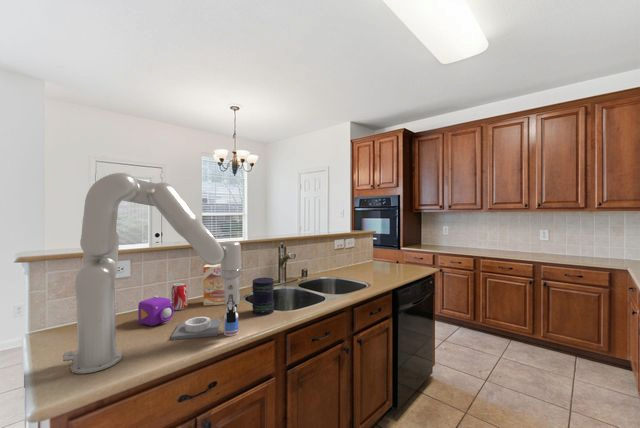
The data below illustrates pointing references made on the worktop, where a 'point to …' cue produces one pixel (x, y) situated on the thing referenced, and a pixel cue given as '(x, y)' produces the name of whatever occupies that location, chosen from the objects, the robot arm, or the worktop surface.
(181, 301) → the soda can
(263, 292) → the storage jar
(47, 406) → the worktop surface
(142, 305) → the toy camera
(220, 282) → the coffeecake box
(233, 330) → the pill bottle
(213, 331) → the mount board
